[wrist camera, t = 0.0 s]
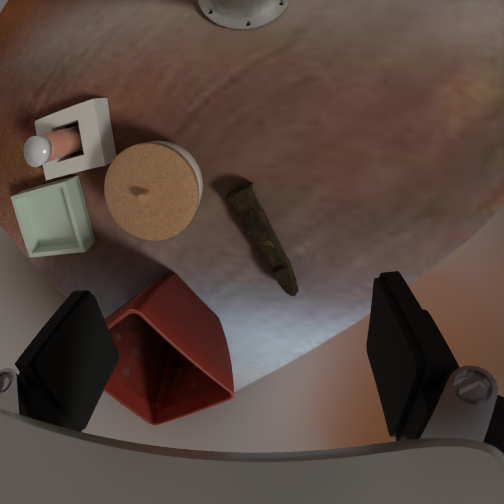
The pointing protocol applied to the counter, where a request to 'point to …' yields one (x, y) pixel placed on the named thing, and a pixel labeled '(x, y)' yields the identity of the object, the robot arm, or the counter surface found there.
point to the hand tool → (263, 235)
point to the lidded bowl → (153, 189)
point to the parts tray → (54, 218)
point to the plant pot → (169, 353)
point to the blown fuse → (52, 146)
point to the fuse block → (92, 136)
